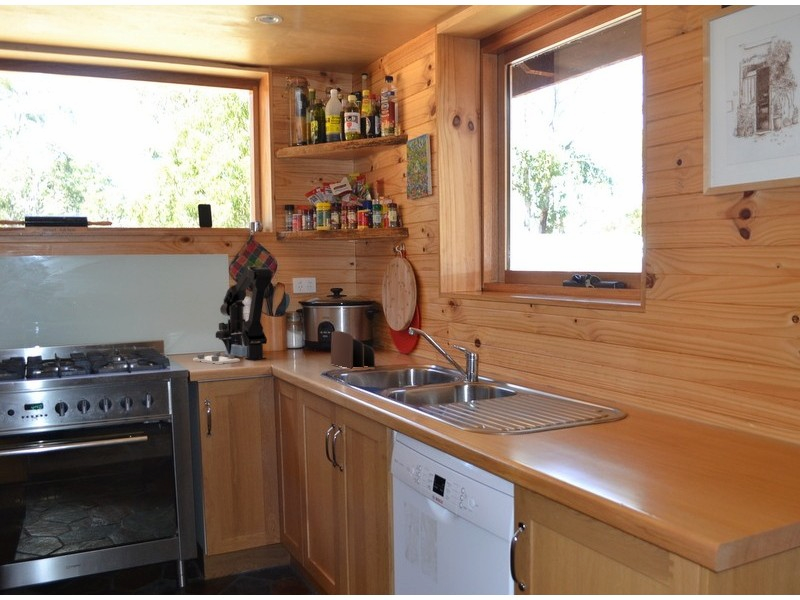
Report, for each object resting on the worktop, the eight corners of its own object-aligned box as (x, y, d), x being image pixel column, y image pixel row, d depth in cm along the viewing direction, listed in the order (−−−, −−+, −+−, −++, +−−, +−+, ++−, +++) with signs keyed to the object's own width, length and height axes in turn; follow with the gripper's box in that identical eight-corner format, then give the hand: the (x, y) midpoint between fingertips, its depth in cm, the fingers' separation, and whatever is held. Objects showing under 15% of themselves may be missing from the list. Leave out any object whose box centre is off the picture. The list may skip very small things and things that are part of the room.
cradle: (239, 361, 294) (239, 354, 294) (219, 364, 287) (218, 357, 286) (213, 357, 306) (213, 351, 306) (193, 360, 298) (193, 353, 298)
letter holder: (351, 372, 265) (350, 334, 264) (330, 365, 282) (330, 329, 281) (375, 369, 270) (375, 332, 269) (353, 363, 287) (353, 328, 286)
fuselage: (250, 355, 311) (250, 346, 310) (242, 356, 307) (241, 347, 307) (230, 352, 320) (230, 344, 319) (222, 354, 316) (222, 345, 316)
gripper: (242, 314, 324) (243, 348, 325) (207, 317, 310) (208, 353, 311) (258, 315, 317) (259, 350, 318) (222, 319, 303) (223, 355, 304)
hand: (237, 352), depth 313 cm, fingers open, 8 cm apart
